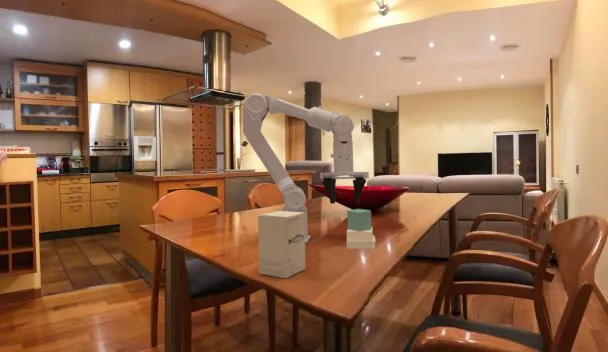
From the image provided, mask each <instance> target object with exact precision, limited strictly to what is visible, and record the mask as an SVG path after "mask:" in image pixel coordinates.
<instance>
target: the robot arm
mask: <svg viewBox="0 0 608 352" xmlns="http://www.w3.org/2000/svg"><path fill="white" fill-rule="evenodd" d="M241 111H242V134H243V135H244V137H245V138H246V140H247V142H248V143H249V144H250V146H251V147H252V149H253V150H254V153H256V156H257V157H258V158H259V160H260V162H261V163H262V164H263V166H264V168H265V169H266V170H267V172H268V174H269V175H270V176H271V178H272V180H273V181H274V183H275V185H276V187H277V189H279V192H280V193H281V195H282V197H283V204H284V206H283V207H282V209H278V210H276V211H291V212H304V223H305V224H304V225H305V244H307V243H308V242H309V240H310V239H311V235H309V233H308V208H307V207H306V206H305V205H306V201H307V196H306V194H305V192H304V190H303V189H302V188H301V187H299V186H298V185H296V183H295V182H294V180H293V179H292V178H291V176H290V174H289V173H288V172H287V170H286V168H285V167H284V165H283V164H282V163H281V160H280V159H279V157H278V156H277V154H276V153H275V151H274V150H273V149H272V147H271V145H270V144H269V142H268V140H267V139H266V137H265V136H264V134H263V133H262V131H261V130H262V127H263V123H264V120H265V119H266V116H267V115H268V114H269V115H275V114H284V115H286V116H287V115H288V116H291V117H295V118H298V119H301V120H305V121H306V124H307V125H308V126H309V127H312V128H315V129H319V130H321V131H324V132H327V133H330V132H331V133H332V134H333V135H332V138H333V140H332V141H333V142H332V152H333V153H332V155H333V156H332V157H333V172H331V171H329V172H320V173H319V180H322V181H321V182H322V185H323V187H324V188H325V190H326V193H327V196H328V199H329V202H330V204H332V205H334V204H336V185H337V180H344V179H345V180H352V184H353V191H354V204H355V205H359V204H360V203H361V197H362V193H363V190H364V187H365V185H366V182H367V180H368V179H370V174H369V173H370V172H369V171H354V150H353V149H354V147H353V145H354V143H353V142H354V141H353V134H352V132H353V131H354V128H355V124H354V122H353V120H352V119H351V117H349V116H348V115H346V114H345V115H343V114H342V115H339V114H340V113H339V112H338V111H335V112H332V111H330V110H326V109H324V107H323V106H321V105H319V106H318V107H317V106H313V107H311V108H306V107H303V106H301V105H298V104H295V103H293V102H289V101H287V100H284V99H281V98H279V97H275V96H272V95H267V94H261V93H260V92H252V93H250V94H249V95H247V96H246V98H245V100H244V103H243V105H242V108H241Z"/></svg>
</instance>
